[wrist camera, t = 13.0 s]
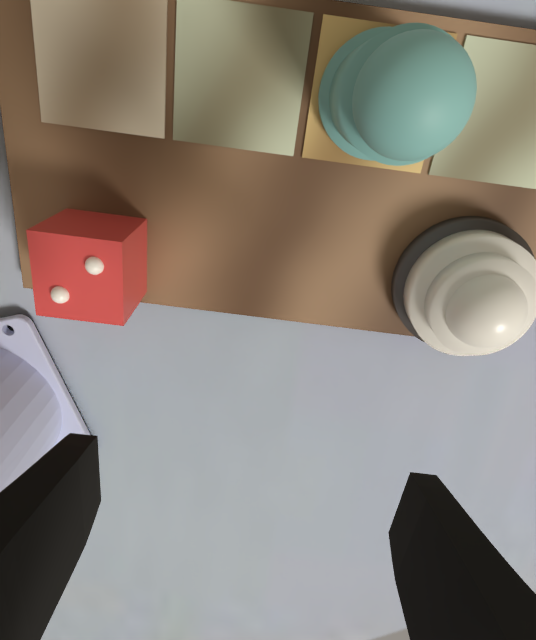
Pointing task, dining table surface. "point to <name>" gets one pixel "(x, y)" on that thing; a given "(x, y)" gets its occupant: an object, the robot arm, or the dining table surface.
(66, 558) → the robot arm
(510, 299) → the dome
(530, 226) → the game board
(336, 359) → the dining table surface
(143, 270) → the red die
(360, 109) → the pawn
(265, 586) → the dining table surface
